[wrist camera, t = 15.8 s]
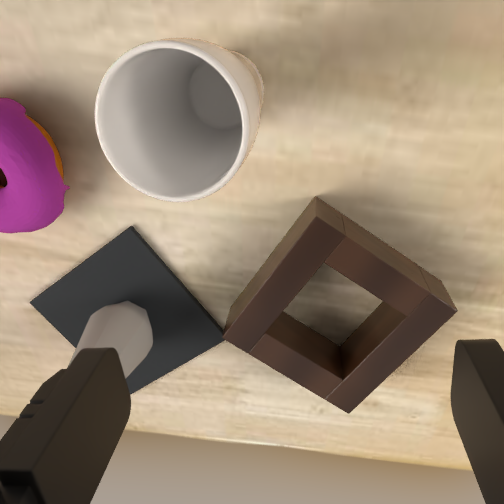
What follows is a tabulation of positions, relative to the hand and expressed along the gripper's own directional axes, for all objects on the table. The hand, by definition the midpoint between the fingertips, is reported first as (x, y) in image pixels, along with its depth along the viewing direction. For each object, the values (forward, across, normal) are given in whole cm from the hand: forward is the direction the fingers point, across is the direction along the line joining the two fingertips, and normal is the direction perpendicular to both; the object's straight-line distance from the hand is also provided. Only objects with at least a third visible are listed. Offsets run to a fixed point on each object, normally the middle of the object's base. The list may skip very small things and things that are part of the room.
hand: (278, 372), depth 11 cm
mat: (+25, +16, +14) cm, 33 cm away
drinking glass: (+26, +5, -4) cm, 26 cm away
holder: (+25, -2, +13) cm, 28 cm away
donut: (+26, +22, 0) cm, 34 cm away
